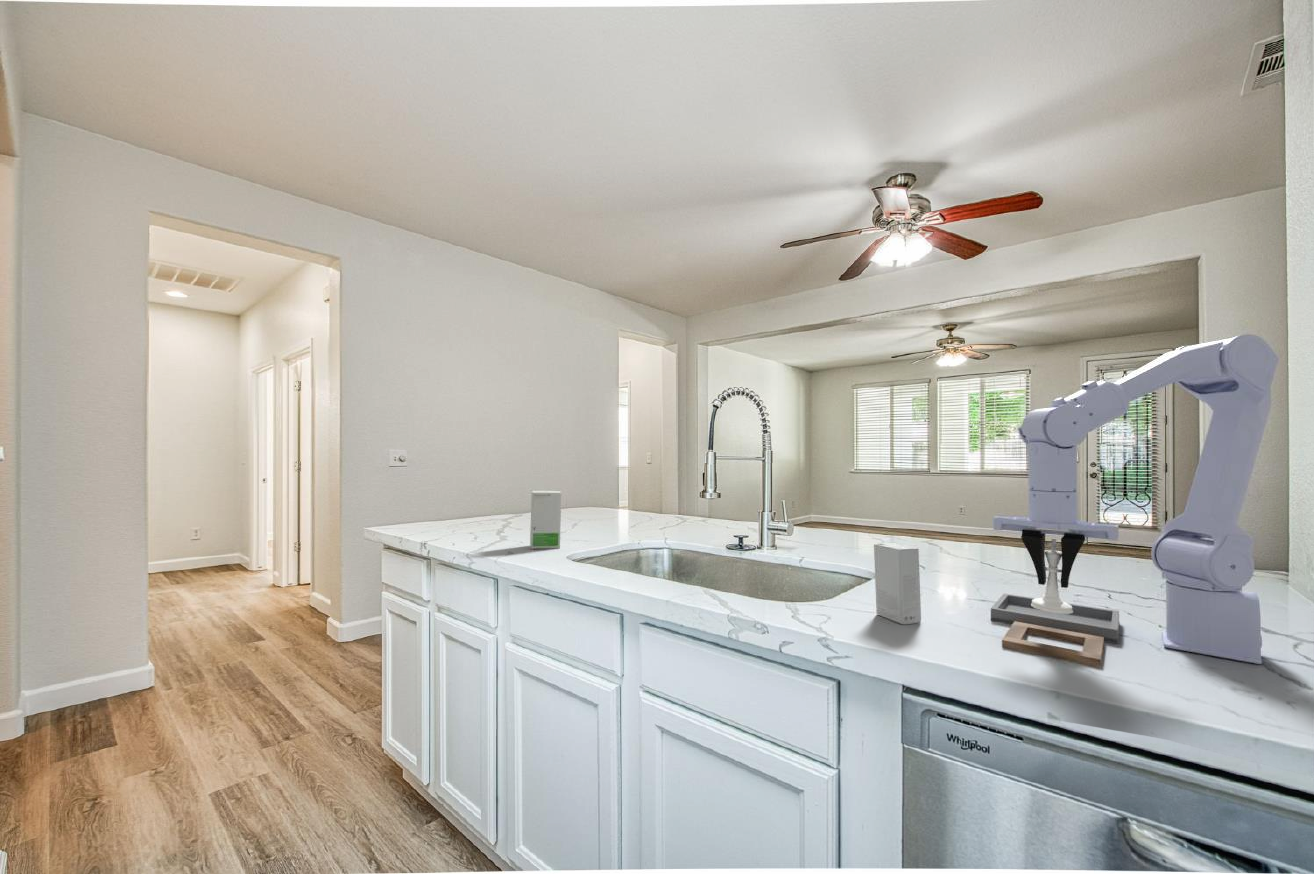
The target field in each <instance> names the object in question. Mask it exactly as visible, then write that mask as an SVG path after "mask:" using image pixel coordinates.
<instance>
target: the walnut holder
mask: <svg viewBox="0 0 1314 874" xmlns="http://www.w3.org/2000/svg"><path fill="white" fill-rule="evenodd" d="M1028 635H1033V636H1038V637H1043V638H1044V637H1045V638H1049V639H1054V640H1059V641H1064V642H1070V643H1074V644H1080V645H1083V647H1082V651H1081V650H1077V649H1072V648H1065V647H1061V646H1056V645H1052V644H1045V643H1042V642H1036V641H1030V640H1026V638H1027V636H1028ZM1104 646H1105V641H1104V637H1100V636H1094V635H1088V634H1083V633H1077V632H1072V631H1066V630H1061V629H1055V628H1050V627H1044V626H1038V625H1033V624H1027V623H1022V622H1016V621H1014V623H1013V624H1011V626H1010V627H1009V629H1008V630H1007V632H1005V635H1004V636H1003V638H1002V639H1001V647H1002V648H1005V649H1010V650H1015V651H1020V652H1024V653H1030V654H1034V655H1038V656H1044V657H1048V658H1054V659H1058V660H1063V661H1068V662H1073V663H1078V664H1081V665H1082V664H1083V665H1088V666H1093V667H1096V668H1102V661H1103V654H1104Z"/></svg>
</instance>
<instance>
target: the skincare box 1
mask: <svg viewBox="0 0 1314 874" xmlns="http://www.w3.org/2000/svg"><path fill="white" fill-rule="evenodd" d="M530 500H531V501H530V507H531V508H530V529H529V530H530V532H529V533H530V535H529V536H530V537H529V538H530V539H529V541H530V542H529V544H530V545H529V546H530V549H531V550H533V549H535V550H536V549H560V548H561V524H562V523H561V515H562V513H561V512H562V492H561V491H559V490H558V491H557V490H531V499H530Z"/></svg>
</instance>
